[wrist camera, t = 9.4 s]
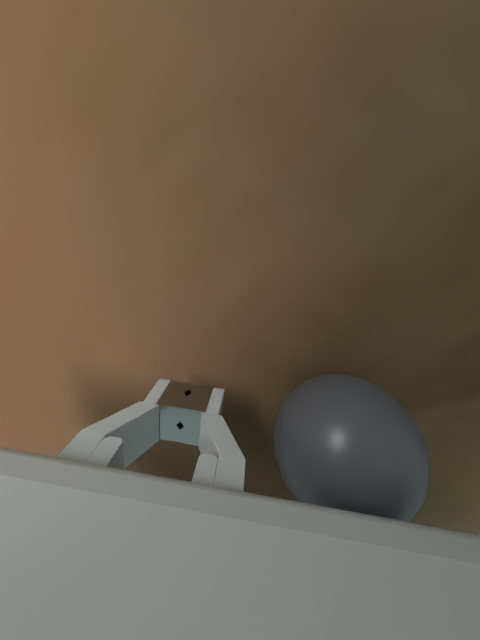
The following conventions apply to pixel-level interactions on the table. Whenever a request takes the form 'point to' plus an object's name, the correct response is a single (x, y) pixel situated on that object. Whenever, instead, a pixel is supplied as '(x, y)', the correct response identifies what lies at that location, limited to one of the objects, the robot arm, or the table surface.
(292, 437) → the charcoal ball
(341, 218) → the table surface
